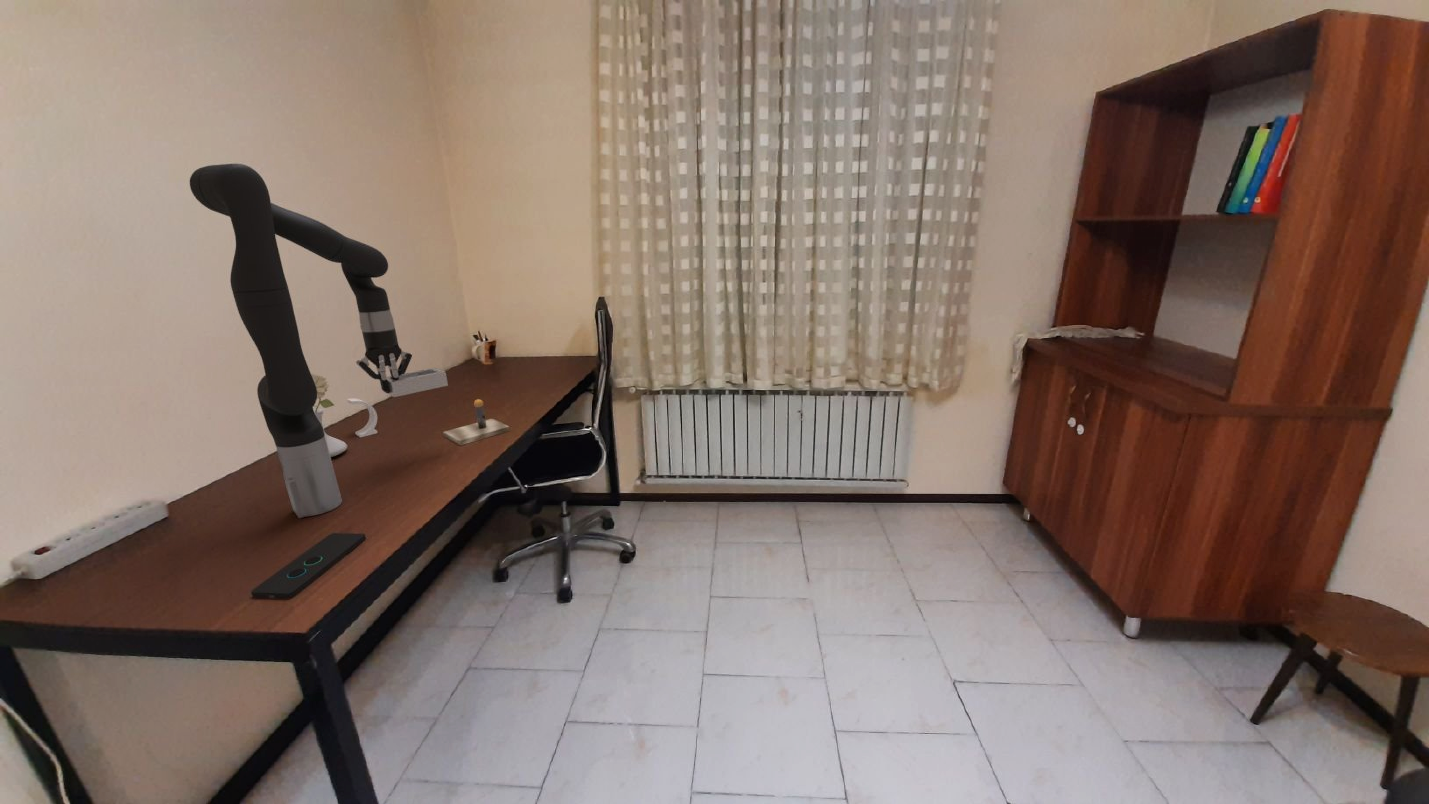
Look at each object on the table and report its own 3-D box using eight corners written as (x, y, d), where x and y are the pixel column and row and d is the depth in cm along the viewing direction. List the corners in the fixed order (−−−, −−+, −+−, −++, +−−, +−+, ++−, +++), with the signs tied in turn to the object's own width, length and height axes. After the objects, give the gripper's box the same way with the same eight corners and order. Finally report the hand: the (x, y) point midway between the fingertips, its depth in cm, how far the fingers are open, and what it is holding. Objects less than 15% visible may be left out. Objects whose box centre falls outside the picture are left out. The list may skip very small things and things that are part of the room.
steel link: (394, 397, 146) (391, 382, 145) (384, 391, 152) (381, 377, 150) (448, 385, 156) (445, 371, 155) (436, 380, 161) (434, 367, 160)
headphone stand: (355, 434, 179) (346, 399, 175) (376, 429, 183) (367, 394, 180) (360, 437, 176) (351, 401, 172) (381, 432, 180) (372, 397, 177)
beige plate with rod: (460, 445, 167) (453, 411, 164) (444, 436, 175) (437, 403, 171) (509, 430, 178) (504, 398, 175) (492, 422, 186) (487, 391, 182)
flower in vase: (292, 462, 158) (268, 378, 151) (327, 447, 169) (306, 367, 161) (328, 465, 155) (306, 379, 148) (362, 449, 166) (342, 369, 158)
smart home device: (247, 591, 99) (330, 532, 118) (250, 599, 100) (332, 539, 118) (290, 593, 98) (367, 533, 117) (293, 601, 99) (368, 540, 118)
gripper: (352, 333, 137) (368, 400, 142) (411, 325, 146) (423, 388, 152) (344, 330, 142) (359, 395, 147) (401, 323, 151) (413, 384, 157)
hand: (391, 391), depth 149 cm, fingers closed on steel link, 1 cm apart
